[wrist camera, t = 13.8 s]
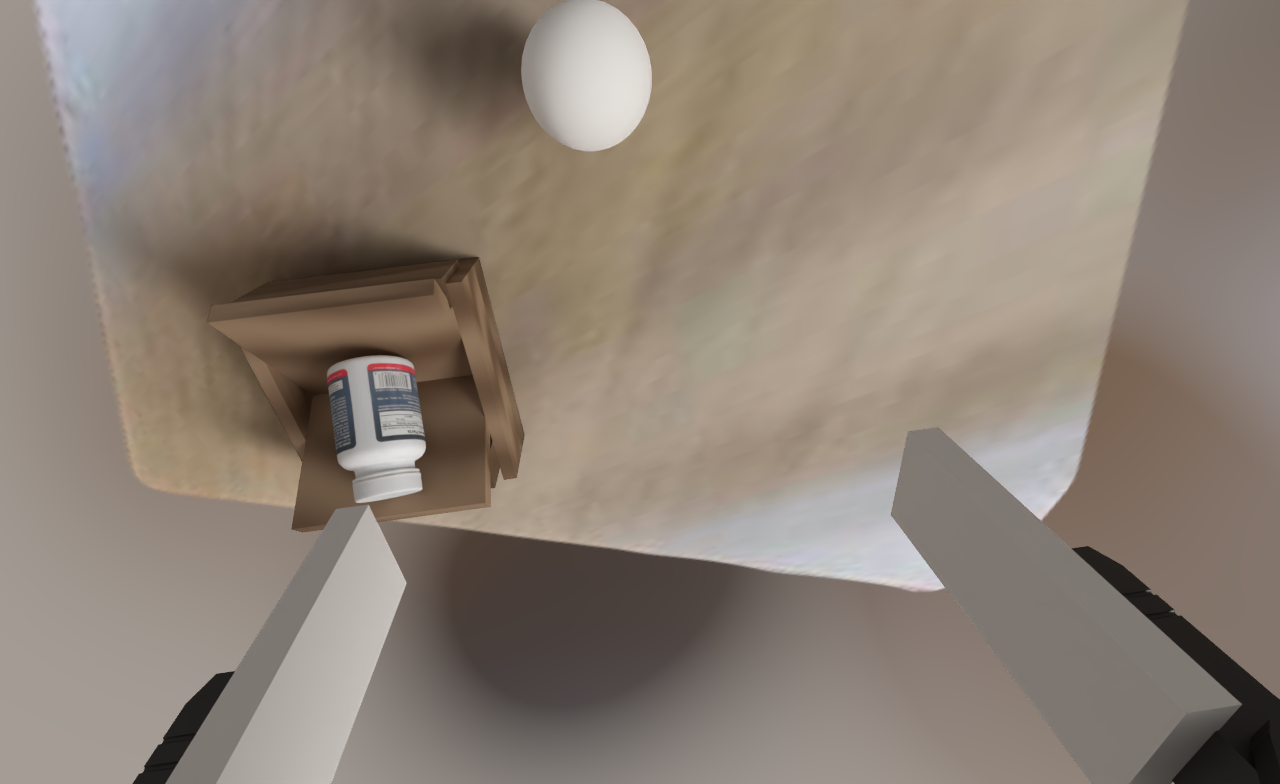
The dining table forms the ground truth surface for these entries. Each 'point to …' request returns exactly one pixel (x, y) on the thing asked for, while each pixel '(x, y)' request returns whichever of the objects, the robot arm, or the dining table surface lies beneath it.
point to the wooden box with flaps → (394, 326)
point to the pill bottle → (377, 425)
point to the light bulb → (586, 74)
